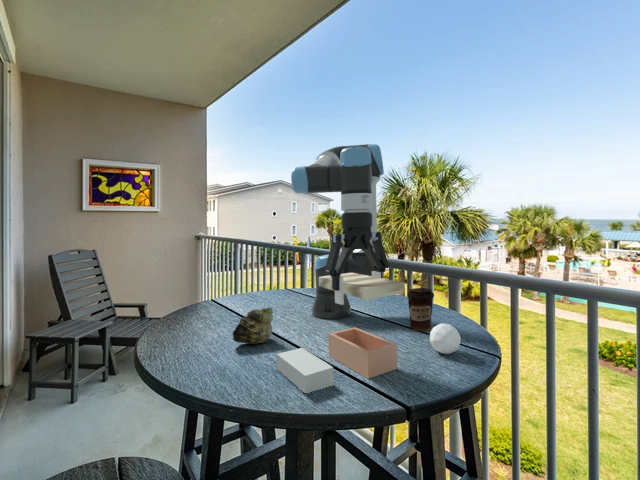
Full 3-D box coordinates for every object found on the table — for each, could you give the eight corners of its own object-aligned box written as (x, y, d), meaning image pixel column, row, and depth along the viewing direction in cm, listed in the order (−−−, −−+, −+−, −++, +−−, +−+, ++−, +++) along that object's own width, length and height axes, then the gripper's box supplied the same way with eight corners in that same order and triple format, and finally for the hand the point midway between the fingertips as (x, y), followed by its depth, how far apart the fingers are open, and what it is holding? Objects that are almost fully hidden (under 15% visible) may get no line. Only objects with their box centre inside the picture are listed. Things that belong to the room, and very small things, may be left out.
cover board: (318, 286, 89) (318, 276, 89) (352, 281, 95) (351, 272, 94) (367, 300, 72) (366, 288, 72) (403, 293, 78) (403, 282, 77)
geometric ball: (453, 364, 88) (467, 346, 83) (423, 352, 89) (435, 334, 84) (453, 341, 94) (466, 324, 89) (425, 331, 95) (436, 313, 90)
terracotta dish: (329, 355, 89) (328, 333, 88) (355, 348, 93) (355, 327, 93) (368, 378, 75) (367, 352, 75) (397, 368, 80) (396, 344, 80)
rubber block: (277, 370, 81) (276, 354, 81) (302, 363, 84) (302, 347, 84) (305, 394, 69) (305, 375, 69) (333, 385, 73) (333, 367, 72)
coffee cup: (436, 333, 104) (435, 292, 103) (408, 332, 105) (408, 291, 105) (432, 325, 112) (432, 286, 111) (407, 324, 114) (406, 286, 113)
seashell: (238, 337, 106) (236, 305, 105) (274, 335, 107) (273, 304, 106) (232, 349, 95) (230, 315, 95) (272, 347, 96) (271, 313, 96)
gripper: (324, 211, 73) (327, 310, 74) (402, 210, 85) (403, 296, 86) (307, 213, 79) (310, 304, 81) (382, 212, 91) (383, 291, 93)
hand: (358, 300), depth 83 cm, fingers closed on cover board, 11 cm apart
